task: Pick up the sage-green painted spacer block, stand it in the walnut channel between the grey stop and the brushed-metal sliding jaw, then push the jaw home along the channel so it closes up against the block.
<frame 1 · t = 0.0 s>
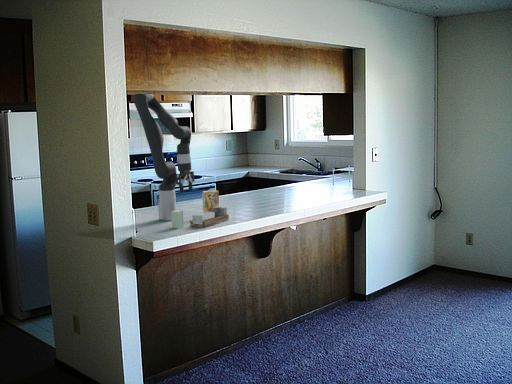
hand: (186, 190, 341), 17 cm above the counter, tool pointing down, fingers open, 8 cm apart
channel: (211, 222, 338), on the counter
spacer: (177, 227, 326), on the counter
jaw: (203, 217, 330), point 4 cm above the counter, slide at 0.0 cm
candy box: (211, 217, 354), on the counter
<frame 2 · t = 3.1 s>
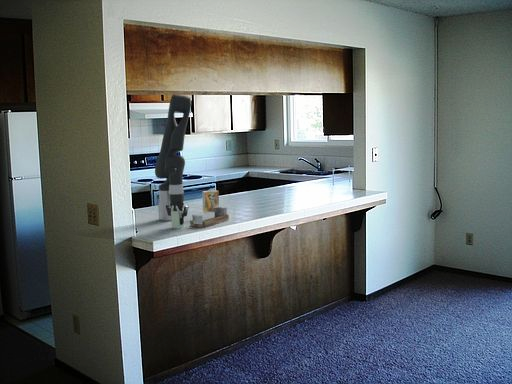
hand: (177, 223, 326), 2 cm above the counter, tool pointing down, fingers closed on spacer, 4 cm apart
spacer: (177, 227, 326), on the counter, touching gripper
everything else where it was.
when the fingers open (4 cm above the counter, at t = 9.6 s): spacer stays where it is, resting on channel.
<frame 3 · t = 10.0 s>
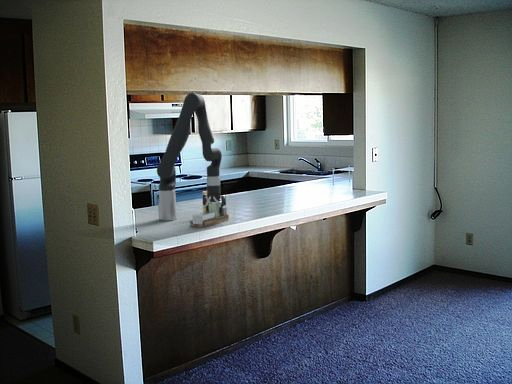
hand: (214, 213, 340), 5 cm above the counter, tool pointing down, fingers open, 8 cm apart
spacer: (214, 219, 340), point 1 cm above the counter, touching channel
everything else where it was.
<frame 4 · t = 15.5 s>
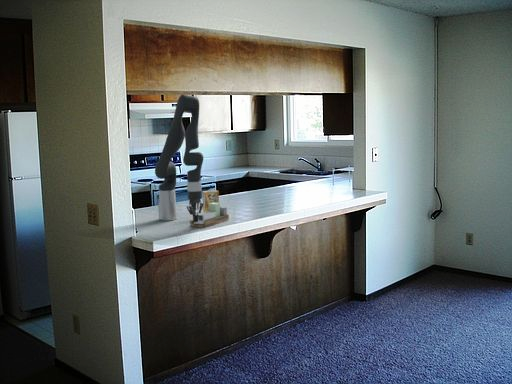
hand: (195, 221, 324), 3 cm above the counter, tool pointing down, fingers closed
jaw: (204, 217, 331), point 4 cm above the counter, slide at 1.0 cm, touching gripper
everything else where it was.
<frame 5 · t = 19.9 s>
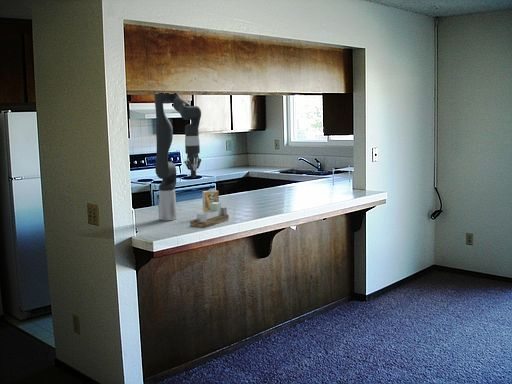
hand: (193, 177, 320), 27 cm above the counter, tool pointing down, fingers closed
spacer: (215, 218, 341), point 1 cm above the counter, touching channel
jaw: (207, 216, 334), point 4 cm above the counter, slide at 4.0 cm
everything else where it was.
at the end: jaw slide at 4.0 cm; spacer inside the target area (0.2 cm from its centre), point 1.2 cm above the counter; spacer tilted 0° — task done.
